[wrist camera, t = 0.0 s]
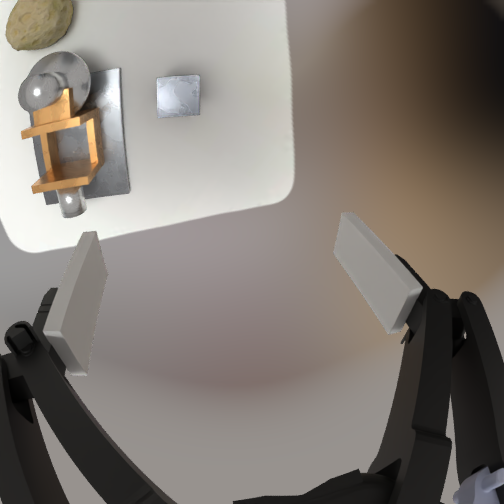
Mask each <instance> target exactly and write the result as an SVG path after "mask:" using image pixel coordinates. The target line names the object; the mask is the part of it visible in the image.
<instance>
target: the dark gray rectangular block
mask: <svg viewBox="0 0 504 504" xmlns="http://www.w3.org/2000/svg"><path fill="white" fill-rule="evenodd" d="M157 113H158V118H164V117H176V116H190V115H200V75H181V76H168V77H159V78H157Z"/></svg>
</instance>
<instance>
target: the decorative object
mask: <svg viewBox="0 0 504 504" xmlns="http://www.w3.org/2000/svg"><path fill="white" fill-rule="evenodd" d="M72 15H73V6H72V2H71V0H18V2H17V3H16V5H15V7H14V8H13V9H12V12H11V13H10V16H9V19H8V23H7V25H6V38H7V41H8V42H9V43H10V44H11V46H12V48H14V49H16V50H17V51H19V50H36V49H40V48H45V47H48V46H50V45H52V44H54V43H55V42H57V40H58V39H60V38H61V37H63V36H64V35H65V34H66V30H67V29H68V26H69V25H70V23H71V18H72Z"/></svg>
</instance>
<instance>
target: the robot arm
mask: <svg viewBox="0 0 504 504" xmlns="http://www.w3.org/2000/svg"><path fill="white" fill-rule="evenodd" d="M333 254H334V255H335V257H336V258H337V259H338V261H339V262H340V263H341V265H342V266H343V268H344V269H345V271H346V272H347V274H348V275H349V276H350V278H351V279H352V281H353V282H354V284H355V285H356V286H357V288H358V289H359V291H360V292H361V294H362V295H363V297H364V298H365V300H366V301H367V303H368V304H369V306H370V307H371V309H372V310H373V312H374V313H375V315H376V316H377V318H378V319H379V321H380V322H381V324H382V326H383V327H384V329H385V330H386V332H387V333H388V335H390V334H393V333H397V332H400V331H401V330H402V328H403V326H404V324H405V322H406V323H407V325H408V326H409V329H408V330H407V332H406V334H405V336H404V338H403V339H402V341H401V344H403V342H404V341H405V346H404V352H403V357H402V363H401V368H400V373H399V378H398V383H397V388H396V391H395V396H394V400H393V404H392V408H391V412H390V415H389V419H388V423H387V427H386V430H385V433H384V437H383V440H382V443H381V446H380V449H379V452H378V454H377V457H376V458H375V459H374V461H373V462H372V464H371V466H370V468H369V470H368V472H367V473H360V471H359V469H357V470H354V471H352V472H349V473H346V474H343V475H341V476H338V477H335V478H332V479H330V480H328V481H326V482H325V483H323V484H321V485H319V486H318V487H316V488H314V489H312V490H311V491H309V492H307V493H305V494H303V495H298V496H262V497H257V498H251V499H245V500H238V501H233V504H444V503H442V502H440V499H441V495H442V492H443V488H444V483H445V479H446V475H447V470H448V465H449V460H450V455H451V449H452V441H451V439H450V438H448V437H446V426H447V418H448V409H449V401H450V395H451V402H452V410H453V420H454V430H455V444H456V463H457V473H458V480H459V484H460V488H459V490H458V491H456V492H455V494H454V495H453V501H454V502H455V503H456V504H504V362H503V359H502V356H501V353H500V350H499V347H498V344H497V341H496V338H495V335H494V332H493V330H492V327H491V324H490V322H489V319H488V317H487V314H486V312H485V310H484V307H483V304H482V302H481V301H480V299H479V298H478V297H477V295H475V294H474V293H472V292H467V291H465V292H463V293H462V294H461V296H460V298H459V299H450V298H449V297H448V295H447V294H445V293H444V292H443V291H440V290H438V289H430V288H429V286H428V285H427V284H426V283H425V282H424V281H423V280H422V279H421V277H420V276H419V275H418V274H417V273H415V271H414V270H413V268H411V267H410V265H409V264H408V263H407V262H406V261H405V260H404V259H403V258H401V257H400V256H398V255H394V254H393V253H392V252H391V251H390V250H389V249H388V247H386V245H385V244H384V243H383V242H382V241H381V240H380V239H379V238H378V237H377V236H376V235H375V234H374V233H373V232H372V231H371V230H370V229H369V228H368V227H367V226H366V225H365V223H364V222H362V220H361V219H359V217H357V215H356V214H355V213H353V212H349V213H342V214H341V220H340V224H339V230H338V234H337V238H336V243H335V247H334V252H333ZM107 276H108V272H107V269H106V265H105V262H104V258H103V255H102V251H101V247H100V244H99V240H98V236H97V232H96V231H91V232H83V234H82V236H81V238H80V240H79V242H78V244H77V246H76V248H75V251H74V253H73V255H72V257H71V259H70V262H69V264H68V266H67V269H66V271H65V273H64V275H63V278H62V280H61V283H60V285H59V288H51V289H50V290H49V291H48V292H47V293H46V294H45V295H44V298H43V300H42V302H41V306H40V308H39V310H38V313H37V315H36V318H35V321H34V323H33V326H31V325H30V324H29V323H28V322H25V321H20V322H17V323H15V324H13V325H12V326H11V327H10V328H9V329H8V330H7V332H6V334H5V338H4V340H5V344H6V345H7V347H8V348H9V349H10V351H11V352H12V353H9V354H6V355H2V356H1V354H0V498H1V501H2V503H3V504H69V502H68V500H67V498H66V495H65V493H64V491H63V489H62V487H61V484H60V482H59V480H58V478H57V475H56V472H55V470H54V467H53V465H52V462H51V459H50V457H49V454H48V451H47V449H46V445H45V442H44V439H43V436H42V433H41V430H40V426H39V423H38V419H37V416H36V412H35V408H34V404H33V400H32V398H35V400H36V402H37V404H38V406H39V408H40V409H41V411H42V413H43V415H44V417H45V418H46V420H47V422H48V424H49V425H50V427H51V429H52V430H53V432H54V433H55V435H56V437H57V438H58V440H59V441H60V443H61V444H62V446H63V447H64V449H65V450H66V452H67V453H68V455H69V456H70V458H71V459H72V460H73V462H74V463H75V465H76V466H77V467H78V468H79V470H80V471H81V473H82V474H83V475H84V476H85V478H86V479H87V480H88V482H89V483H90V484H91V485H92V487H93V488H94V489H95V490H96V491H97V493H98V494H99V495H100V496H101V497H102V498H103V500H104V501H105V502H106V503H107V504H177V503H176V502H175V501H173V500H172V499H171V498H170V497H169V496H167V495H166V494H165V493H164V492H163V491H162V490H161V489H160V488H159V487H157V486H156V485H155V484H154V483H153V482H152V481H151V480H150V479H149V478H148V477H147V476H146V475H145V474H144V473H143V472H142V471H141V470H140V469H139V468H138V467H137V466H136V465H135V464H134V463H133V462H132V461H131V460H130V459H129V458H128V457H127V456H126V454H125V453H124V452H123V451H122V450H121V449H120V448H119V447H118V446H117V444H116V443H115V442H114V441H113V440H112V439H111V437H110V436H109V435H108V434H107V433H106V431H105V430H104V429H103V428H102V426H101V425H100V424H99V423H98V422H97V420H96V419H95V418H94V416H93V415H92V414H91V412H90V411H89V410H88V409H87V407H86V406H85V404H84V403H83V402H82V400H81V399H80V397H79V396H78V395H77V393H76V392H75V390H74V389H73V387H72V386H71V384H70V383H69V381H68V380H67V379H66V377H65V370H66V368H67V370H68V371H69V372H70V374H71V375H74V376H87V375H88V369H89V362H90V356H91V349H92V344H93V339H94V333H95V328H96V323H97V318H98V314H99V309H100V305H101V300H102V296H103V292H104V287H105V284H106V280H107ZM465 332H466V339H465V338H464V334H465Z"/></svg>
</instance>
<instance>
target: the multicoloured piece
mask: <svg viewBox="0 0 504 504" xmlns="http://www.w3.org/2000/svg"><path fill="white" fill-rule="evenodd" d="M18 99H19V103H20V105H21V107H22V108H23V109H24V110H26V111H28V112H29V114H30V122H31V127H29V128H27V129H25V130H23V131H21V135H22V139H26V138H29V137H33V143H34V149H35V155H36V161H37V166H38V171H39V176H40V179H39V180H38V181H37V182H35V183H34V184H33V185H32V186H31V187H32V191H33V194H35V193H40V192H43V193H44V197H45V201H46V205H50V204H56V203H59V204H60V208H61V212H62V216H63V217H64V218H72V217H76V216H78V215H81V214H82V213H84V212H85V211H86V209H87V206H86V202H85V199H89V198H96V197H104V196H112V195H120V194H129V193H130V186H129V178H128V170H127V161H126V152H125V142H124V131H123V117H122V100H121V71H120V68H116V69H110V70H104V71H99V72H94V73H90V71H89V68H88V66H87V64H86V63H85V61H84V60H83V59H82V58H81V57H80V56H78V55H76V54H74V53H71V52H55V53H51V54H49V55H47V56H45V57H44V58H42V59H41V60H40V61H39V62H37V63H36V65H35V66H34V67H33V68H32V70H31V71H30V73H29V75H28V77H27V78H26V79H25V80H24V81H23V83H22V84H21V86H20V89H19V93H18Z"/></svg>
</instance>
